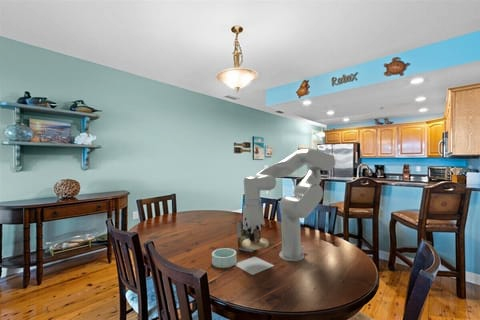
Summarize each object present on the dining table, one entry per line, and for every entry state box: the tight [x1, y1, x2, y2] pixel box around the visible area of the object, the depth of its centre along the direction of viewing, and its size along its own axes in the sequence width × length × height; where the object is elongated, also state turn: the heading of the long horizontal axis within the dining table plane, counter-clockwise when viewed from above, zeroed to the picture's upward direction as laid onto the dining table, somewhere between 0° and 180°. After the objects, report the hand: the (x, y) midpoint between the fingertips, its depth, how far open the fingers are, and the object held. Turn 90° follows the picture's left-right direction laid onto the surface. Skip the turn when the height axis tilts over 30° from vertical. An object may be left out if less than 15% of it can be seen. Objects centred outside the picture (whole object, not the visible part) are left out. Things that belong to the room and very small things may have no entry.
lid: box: [242, 229, 270, 251], centre depth 116 cm, size 13×13×7 cm
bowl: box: [211, 247, 238, 269], centre depth 119 cm, size 12×12×5 cm
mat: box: [234, 256, 275, 276], centre depth 115 cm, size 14×14×1 cm
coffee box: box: [236, 218, 256, 253], centre depth 136 cm, size 9×6×16 cm
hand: (255, 239), depth 116 cm, fingers closed on lid, 3 cm apart
